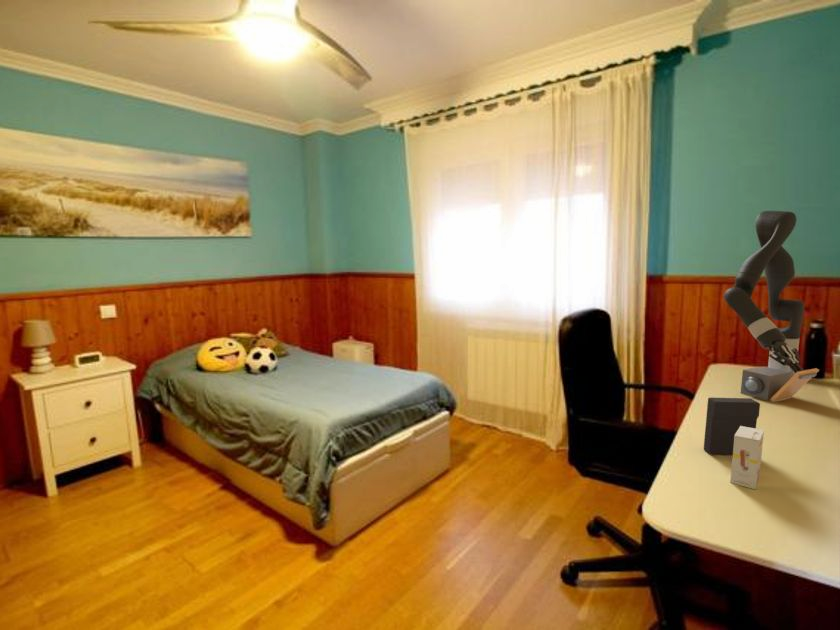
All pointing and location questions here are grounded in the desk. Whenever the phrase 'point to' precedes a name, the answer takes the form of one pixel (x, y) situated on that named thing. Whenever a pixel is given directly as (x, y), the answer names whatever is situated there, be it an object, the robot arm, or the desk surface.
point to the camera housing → (763, 382)
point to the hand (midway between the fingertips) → (801, 374)
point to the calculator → (727, 422)
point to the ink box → (747, 456)
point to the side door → (794, 385)
